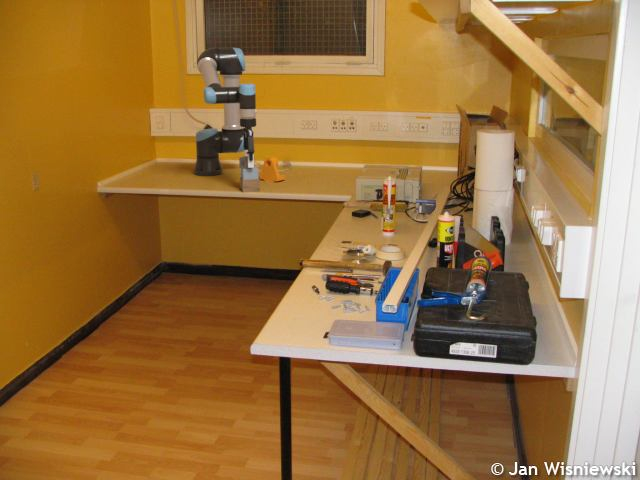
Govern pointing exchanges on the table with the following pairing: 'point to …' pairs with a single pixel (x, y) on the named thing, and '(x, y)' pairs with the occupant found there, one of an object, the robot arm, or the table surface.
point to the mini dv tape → (425, 206)
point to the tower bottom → (250, 185)
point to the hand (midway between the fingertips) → (249, 165)
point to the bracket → (271, 170)
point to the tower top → (249, 173)
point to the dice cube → (244, 162)
